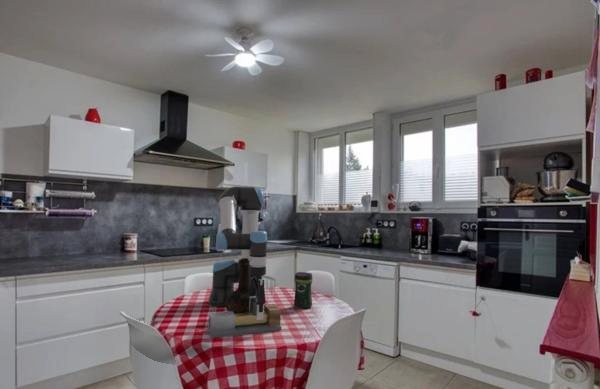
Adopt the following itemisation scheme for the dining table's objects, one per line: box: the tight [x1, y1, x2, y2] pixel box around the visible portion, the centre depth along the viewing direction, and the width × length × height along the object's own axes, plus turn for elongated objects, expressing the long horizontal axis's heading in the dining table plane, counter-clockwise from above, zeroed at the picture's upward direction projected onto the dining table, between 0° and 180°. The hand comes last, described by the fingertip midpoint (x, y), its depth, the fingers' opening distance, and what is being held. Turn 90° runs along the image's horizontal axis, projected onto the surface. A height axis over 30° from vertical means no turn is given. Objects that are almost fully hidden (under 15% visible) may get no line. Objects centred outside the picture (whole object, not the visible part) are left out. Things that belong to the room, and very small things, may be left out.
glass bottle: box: [225, 258, 257, 314], centre depth 167 cm, size 18×18×28 cm
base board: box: [206, 323, 282, 339], centre depth 148 cm, size 12×30×2 cm, turn 113°
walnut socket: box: [263, 303, 282, 327], centre depth 153 cm, size 9×5×7 cm, turn 23°
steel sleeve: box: [207, 310, 235, 332], centre depth 145 cm, size 6×10×6 cm, turn 113°
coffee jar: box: [293, 271, 313, 309], centre depth 185 cm, size 10×8×19 cm
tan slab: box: [235, 298, 268, 326], centre depth 150 cm, size 6×21×10 cm, turn 113°
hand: (256, 314), depth 150 cm, fingers open, 12 cm apart
